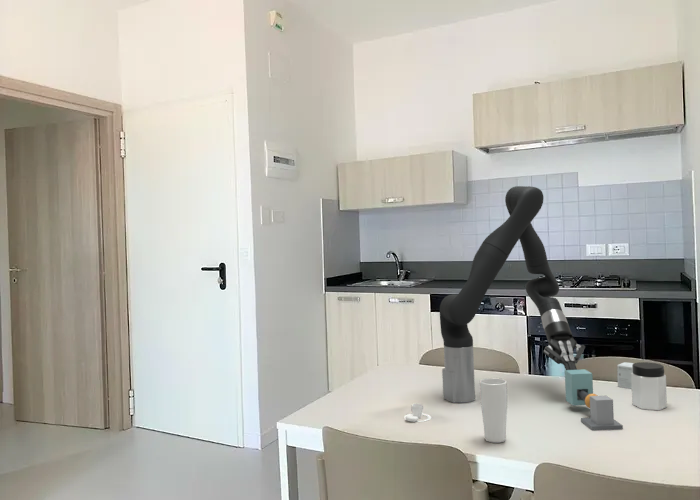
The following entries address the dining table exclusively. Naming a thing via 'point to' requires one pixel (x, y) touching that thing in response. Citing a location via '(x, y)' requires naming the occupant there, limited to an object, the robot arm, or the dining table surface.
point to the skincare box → (624, 374)
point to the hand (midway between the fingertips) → (573, 374)
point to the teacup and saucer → (416, 413)
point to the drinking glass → (494, 408)
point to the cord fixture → (599, 412)
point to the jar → (648, 386)
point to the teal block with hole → (577, 385)
